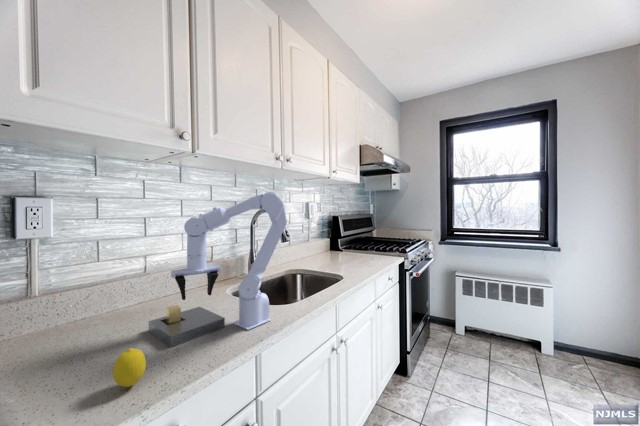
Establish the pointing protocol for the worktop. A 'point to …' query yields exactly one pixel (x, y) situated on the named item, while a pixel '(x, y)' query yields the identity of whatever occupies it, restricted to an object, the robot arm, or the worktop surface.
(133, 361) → the lemon
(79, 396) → the worktop surface
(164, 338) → the peg hole base
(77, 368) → the worktop surface
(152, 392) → the worktop surface
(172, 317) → the tan wooden block
